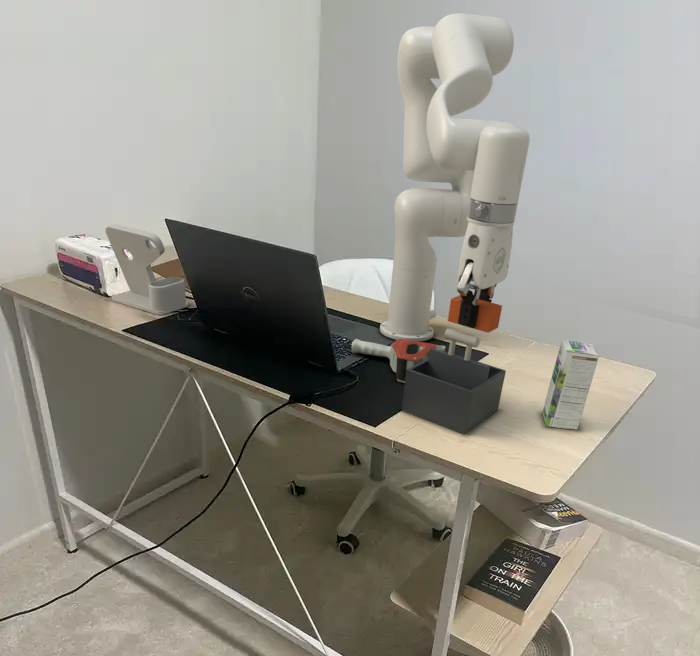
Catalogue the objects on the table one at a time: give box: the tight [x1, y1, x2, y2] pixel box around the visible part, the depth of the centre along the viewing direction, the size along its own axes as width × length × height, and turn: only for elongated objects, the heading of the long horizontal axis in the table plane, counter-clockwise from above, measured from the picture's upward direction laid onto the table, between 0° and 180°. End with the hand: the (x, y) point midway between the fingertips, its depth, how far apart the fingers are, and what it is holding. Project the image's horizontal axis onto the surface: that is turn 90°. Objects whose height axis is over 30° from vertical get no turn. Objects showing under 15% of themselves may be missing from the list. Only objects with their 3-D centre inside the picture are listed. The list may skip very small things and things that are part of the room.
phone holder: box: [105, 223, 189, 316], centre depth 156 cm, size 17×10×18 cm, turn 59°
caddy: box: [401, 327, 507, 435], centre depth 117 cm, size 13×13×15 cm
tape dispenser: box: [351, 338, 447, 384], centre depth 136 cm, size 18×5×20 cm
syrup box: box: [541, 340, 600, 430], centre depth 117 cm, size 6×6×14 cm
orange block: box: [447, 294, 503, 334], centre depth 114 cm, size 4×8×4 cm, turn 53°
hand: (473, 321), depth 115 cm, fingers closed on orange block, 3 cm apart
